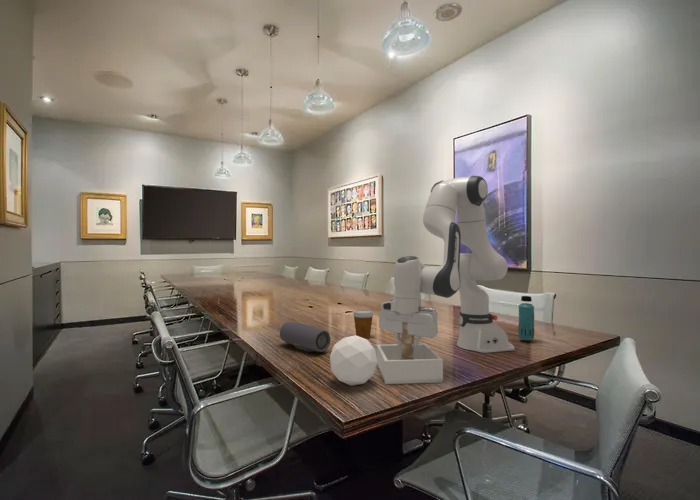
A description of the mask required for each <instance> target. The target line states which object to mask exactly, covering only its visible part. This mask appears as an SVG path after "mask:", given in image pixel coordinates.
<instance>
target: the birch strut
mask: <svg viewBox="0 0 700 500" xmlns="http://www.w3.org/2000/svg"><path fill="white" fill-rule="evenodd" d="M402 329H403V332H402V333H401V334H400V337H401V359H400V360H413V359H414V349H413V348H412V343H413V342H415V341H414V339H415V336H414V335H409V334H408V323H403V322H402Z"/></svg>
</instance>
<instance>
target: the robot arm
mask: <svg viewBox="0 0 700 500" xmlns="http://www.w3.org/2000/svg"><path fill="white" fill-rule="evenodd" d="M488 191H489V188H488V183H487V181H486V180H485V178H484V177H482V176H481V175H470V176H459V177H455V178H449V179H447V180H440V181H438V182H436V183H434V184H433V186H432V187H431V189H430V195H429V196H428V198H427V199H428V200H427V202H426V205H425V209H424V213H423V217H422V218H423V219H422V222H423V226H424V227H425V229H426V230H427V232H429V233H430V234H431V235H434V236H436V237H437V238H439V239H441V240H443V242H444V244H443V245H444V246H443V259H442V260H443V261H442V264H441V265H440V266H433V265H432V266H431V265H426V264H424V263H422V262H421V261H420V259H419V257H417V256H412V255H409V256H402V257H399V258H397V260H396V262H395V263H394V264H395V265H394V271H393V284H394V288H395V289H394V295H393V299H391V300H389V301H385V302H382V303H381V304H380V308H381V311H380V312H379V320H378V326H379V327H378V328H380V330H381V331H386V332H390V333H393V335H394V337H395V341H397V343H396V344H397V345H398V346H401V333H402V332H403V329H402V322H403V323H408V334H409V335H415V336H414V339H415V341H414V342H413V343H412V348H413V349H417V348H418V344H420V343H419V342H420V341H421V339H422V337H423V338H428V339H434V338H436V337H437V335H438V334H439V329H438V326H439V325H438V312H437V310H435V309H434V308H433V307H425V306H424V307H423V306H422V295H421V294H425V295H433V296H438V297H441V298H446V299H447V298H448V299H449V298H451V297H452V296H454V295H455V294H456V293H457V292H458V291H459V299H460V312H459V319H458V320H459V333H458V334H459V335H458V339H457V342H456V346H457V347H459V348H460V349H463V350H467V351H473V352H479V353H482V354H485V353H487V354H489V353H497V352H499V353H500V352H508V351H515V346H514V345H513V343H511V342H509V338H508V334H507V332H506V331H505V330H503V329H502V328H501V327H499V326H498V325H497V324H496V323H495V322H494V321H497V320H498V315H495V314H492V313H489V312H490V311H489V310H490V309H489V308H490V306H489V305H490V304H489V303H490V299H489V298H490V297H489V295H488V293H487V292H486V291H485V289H483V288H480V286H479V285H478V284H477V282H476V281H478V280H479V281H499V280H501V279H503V278H505V276H506V275H507V273H508V267H509V266H508V262H507V259H506V258H504V257H503V256H502V255H501V254H500V253H498V251H496V250H495V248H494V247H493V246H492V245H491V243H490V241H489V237H488V232H487V223H486V212H485V208H484V204H483V203H484V201H485V200H486V198H487V197H488ZM461 244H463V245H464V246H466V247H468V248H469V250H470V251H471V253H469V252H467V253H461ZM493 320H494V321H493Z"/></svg>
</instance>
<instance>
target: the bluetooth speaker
mask: <svg viewBox="0 0 700 500" xmlns="http://www.w3.org/2000/svg"><path fill="white" fill-rule="evenodd" d="M279 337H280V338H281V340H282V341H284V342H286V343H287V344H290V345H292V346H294V348H295V349H297V350H300V351H303V350H304V352H308V353H312V352H320V353H322V352H324V351H325V352H326V351H327V349H328V348H329V347H330V345H331V338H332V337H331V335H330V333H329V331H327V330H325V329H323V328H319V327H316V326H312V325H308V324H305V323H300V322H294V321H288V322H287V321H286V322H285V323H283V324H282V325H281V327H280V330H279Z"/></svg>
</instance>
